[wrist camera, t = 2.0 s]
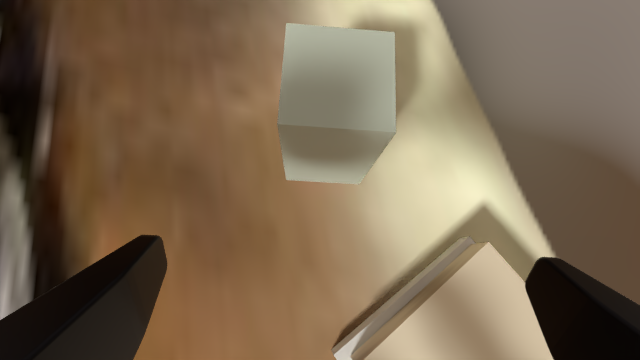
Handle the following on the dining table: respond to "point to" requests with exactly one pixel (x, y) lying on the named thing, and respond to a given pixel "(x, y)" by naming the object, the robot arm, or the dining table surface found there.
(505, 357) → the birch slab
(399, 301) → the base slab
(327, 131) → the sage block
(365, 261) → the dining table surface
